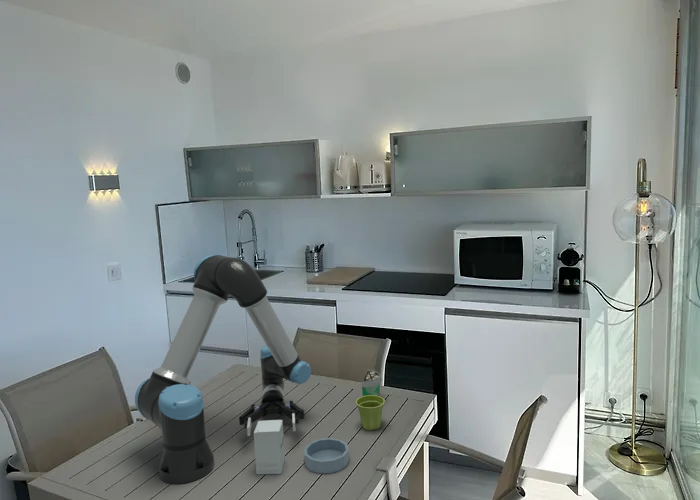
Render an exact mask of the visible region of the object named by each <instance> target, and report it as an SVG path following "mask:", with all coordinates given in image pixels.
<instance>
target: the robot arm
mask: <svg viewBox="0 0 700 500" xmlns="http://www.w3.org/2000/svg"><path fill="white" fill-rule="evenodd" d="M193 277H194V284H193V285H192V287H191V289H192V292H193V297H192V299H191V301H190V303H189V306H188V308H187V310H186V313H185V315H184V317H183V319H182V320H181V322H180V325H179V328H178V329H177V332H175V333H176V334H175V336H174V338H173V340H172V342H171V344H170V347H169V349H168V351H167V352H166V355H165V357H164V360H163V361H162V363H161V365H160V366H159V367H157V368H156V369H153V370H152V372H151V375H150V377H149V378H147V379H146V380H143V381H142V382H141V383H140V384H139V385H138V387H137V389H136V391H135V394H134V405H135V408H136V409H137V411H138V412H139V413H140V415H142V417H144V418H145V419H147V420H149V421H150V422H151V423H153V424H155V425H156V426H157V427H159V428H160V429H161V435H162V446H163V448H162V453H161V457H160V461H159V465H158V472H159V478H160V479H161V480H162V481H163V482H166V483H169V484H174V485H175V484H176V485H177V484H179V485H180V484H187V483H190V482H194V481H198V480H199V479H201V478H204V477H205V476H207V475H208V474H209V473H210V472H211V471H212V470H213V469H214V467H215V455H214V453H213V451H212V449H211V446H210V445H209V442H208V440H207V437H206V435H207V434H206V423H205V411H204V404H205V403H204V399H203V395H202V392H201V390H200V389H199V388H198V387H197V386H195V385H192V384H191V382H190V381H189V378H188V377H189V374H190V372H191V370H192V368H193V366H194V363H195V361H196V359H197V356H198V355H199V352H200V350H201V348H202V345H203V343H204V341H205V338H206V336H207V335H208V332H209V330H210V328H211V325H212V323H213V321H214V319H215V317H216V314H217V312H218V310H219V309H220V306H222V305H223V304H225V303H227V301H229V300H228V299H229V297H230V296H231V297H232V298H233V299H234V300H235V301H236V303H237V304H238V305H239V307H240V308H242V309H245V310H246V312H247V314H248V316H249V317H250V319H251V321H252V323H253V324H254V326H255V329H257V331H258V333H259V335H260V336H261V338H262V340H263V341H264V343H265V345H264V346H263V347H261V348H260V357H259V359H260V368H261V384H262V385H261V386H262V393H261V402H260V405H256V404H254V403H253V404H251V405H250V407H249V408H248V409H246V410H245V412H243V413H242V414H241V415H239V417H238V421H239V422H238V423H239V425H240V426H243V425H244V427H243V428H244V430H246V431H247V432H246V434H247V437H250V436H251V431H252V424H253V423H255V422H256V421H259V419H261V418H265V417H267V416H270V415H272V416H273V415H278V416H281V417H282V416H284V417H287V418H289V419H291V420H292V432H296V425H298V424H300V419H301V420H304V419H305V410H303V409H302V408H301V407H299V406H298V405H297V404H295V402H294V401H293V400H289V401H288V402H287V403H285V402H284V401H285V394H284V393H285V391H284V389H285V382H284V380H286V381H289V382H291V383H293V384H294V383H295V384H298V385H303V384H305V383H306V382H308V381H309V379H310V377H311V375H312V368H311V365H310V364H309V363H308V362H306V361H305V360H302V359H301V358H300V356H299V354H298V352H297V350H296V348H295V346H294V345H293V343H292V341H291V339H290V337H289V335H288V334H287V332H286V330H285V328H284V326H283V325H282V322H281V320H280V319H279V317H278V315H277V313H276V311H275V309H274V308H273V306H272V304H271V302H270V301H269V299H268V297H267V295H268V290H267V288H266V287H265V285H264V282H263V281H262V279H261V278H260V276H259V275H258V273H257V271H255V269H254V268H253V267H252V266H251V265H250V264H249V262H247V261H245V260H244V259H242V258H239V257H233V256H226V255H221V254H214V255H213V254H211V255H207V256H204V257H203V258H201V259H200V260H199V261H198V262H197V263H196V265H195V268H194V270H193ZM189 382H190V383H189ZM189 384H190V385H189Z"/></svg>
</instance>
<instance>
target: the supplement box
mask: <svg viewBox="0 0 700 500" xmlns="http://www.w3.org/2000/svg"><path fill="white" fill-rule="evenodd" d="M284 437H285V436H284V422H283V419H271V420H270V419H268V420H257V423H256V426H255V428H254V431H253V445H254V458H255V459H254V460H255V472H256V473H255V474H256V475H279V474H282V473H283V469H284V464H285V461H286V456H285V455H286V453H285V439H284Z"/></svg>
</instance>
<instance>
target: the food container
mask: <svg viewBox="0 0 700 500" xmlns="http://www.w3.org/2000/svg"><path fill="white" fill-rule="evenodd" d="M366 371H367V372H366V374H365V376H364V377H363V378H364V379H363V380H361V388H362V389H361V391H362V396H367V395H375V396H380V390H381V387H380V386H381V383H382V380H383V379H382V376H381V374H380V372H378V371H377V370H373V369H368V368H367V369H366Z"/></svg>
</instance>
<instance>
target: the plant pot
mask: <svg viewBox="0 0 700 500" xmlns="http://www.w3.org/2000/svg"><path fill="white" fill-rule="evenodd" d="M385 403H386V400H385V398H383V397H381V396H380V395H379V396H375V395H367V396H363V395H362V396H360V397H357V398H356V400H355V405H356V406H357V409H358V413H359V417H360V423H361V426H362V428H363V429H364V430H366V431H372V430H378V429H379V428H380V427H381V424H382V414H383V408H384V405H385Z"/></svg>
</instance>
